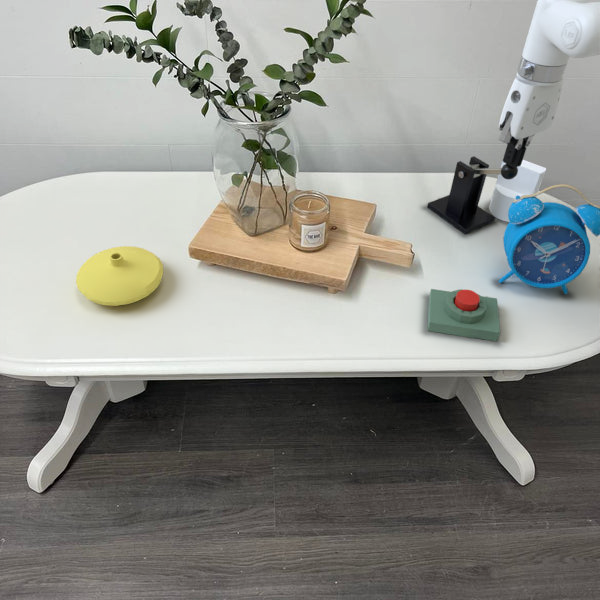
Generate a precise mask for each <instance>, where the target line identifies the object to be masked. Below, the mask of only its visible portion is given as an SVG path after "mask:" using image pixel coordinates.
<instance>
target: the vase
mask: <svg viewBox="0 0 600 600" xmlns="http://www.w3.org/2000/svg"><path fill="white" fill-rule="evenodd" d="M163 264H164V263H162V261H161V259H160V257H158V256H157V255H156V254H155V253H153V252H151V251H149V250H147V249H146V248H143V247H142V248H141V247H138V246H130V245H123V246H115V247H111V248H107V249H103V250H101V251H99V252H97V253H95V254H93V255H92V256H90V257H89V258H87V260H86V261H85V262H84V263H83V264H82V265H81V266H80V268H79V269H78V272H77V273H76V276H75V277H76V279H75V284H76V287H77V289H78V290H79V292H80V293H81V294H82V295H83V296H84V297H85V298H86V299H87V300H88V301H91V302H93V303H95V304H98V305H102V306H112V307H113V306H117V307H118V306H123V305H129V304H133V303H135V302H138V301H140V300H142V299H144V298H146V297H148V296H150V295H151V294H152V293H154V291H156V289H157V288H158V287H159V286H160V284H161V281H162V278H163V275H164V265H163Z"/></svg>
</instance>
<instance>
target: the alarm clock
mask: <svg viewBox="0 0 600 600" xmlns="http://www.w3.org/2000/svg"><path fill="white" fill-rule="evenodd" d="M557 188H558V189H559V188H566V189H570V190H572V191H573V192H576V193H577V194H578V195H579V196H580V197H581V198H582V199H583V200H584V201H585V204H580V205H578V206H576V207H575V208H574V209H572V208H571V207H569V206H567V205H565V204H562V203H559V202H558V203H557V202H551V201H546V202H543V201H542V200H541V199H540V198H538V197H537V196H539V195H542V194H544V193H545V192H547V191H550V190H553V189H557ZM534 196H536V197H534ZM513 201H514V202H513V203H512V204H511V206H510V207H509V211H508V218H509V221H510V222H507V223H508V224H507V225H506V227H505V229H504V232H503V233H504V234H503V237H502V239H503V249H504V253H505V256H506V259H507V263H508V267H509V268H510V270H509V271H508V272H507V273H506V274H505V275H503V276H502V277H501V278H500V279H499V280H498V283H499V284H501V283H503V282H505V281H507V280H508V279H509V278H511V277H512V276H513V275H515V276H516V277H517V279H518V280H520V281H521V282H523V283H524V284H526V285H529V286H531V287H534V288H538V289H554V288H558V287H561V290H562V292H563V294H564V295H567V294H568V287H567V284H568V283H570V282H572V281H574V280H576V278H577V277H578V276H580V275H581V274H582V273H583V271H584V270H585V268H586V266H587V264H588V262H589V260H590V259H589V258H590V255H591V243H590V239H589V237H588V233H587V229H588V230H589V231H590V232H591V233H592V235H594V237H596V238H598V237H599V236H600V205H597V204H595V203H593V202H592V201H590V200H589V199H588V198H587V197H586V196H585V195H584V194H583V193H582V192H581V190H579V189H578V188H576V187H574V186H572V185H570V184H566V183H565V184H563V183H561V184H554V185H552V186H548V187H546V188H543V189H542V190H539V191H538V192H537V193H535V194H530V195H523V196H521V197H520V196H518V195H517V196H516V199H515V200H513ZM586 203H587V204H586ZM586 228H587V229H586Z"/></svg>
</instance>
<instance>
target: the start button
mask: <svg viewBox="0 0 600 600" xmlns="http://www.w3.org/2000/svg"><path fill="white" fill-rule="evenodd" d="M459 290H460V289H459ZM478 294H479V293H477V292H476V291H473V290H471V289H462V290H460V291H459V292H458V293H457V295H456V298H455V305H456V307H457V308H459V309H461V310H463V311H468V312H472V311H475V310H476V309H477V307H478V304H479V301H480V298H479V296H478Z"/></svg>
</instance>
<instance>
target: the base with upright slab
mask: <svg viewBox="0 0 600 600" xmlns="http://www.w3.org/2000/svg"><path fill="white" fill-rule="evenodd" d="M505 164H506V163H504V162H503V160H502V161H501V165H500V168H502V167H503V165H505ZM517 168H518V173H517V175H516V177H514V178H513V179H509V180H508V179H505V178H503V177H502V175H501V174H497V178H496V182H495V185H494V189H493V192H492V195H491V199H490V202H489V205H488V210H489V213H490V214H491V215H492V216H494V217H495V219H498V220H500V221H503V222H507V223H509V222H510V221H509V218H508V211H509V207H510V206H511V204H512V203H513V202H514V201H513V200H515V199H516V196H517V195H518V196H520V197H521V196H523V195H530V194H535V193H537V192H540V189H541V185H542V182H543V180H544V176H545V174H546V171H547V167H544V166H541V165H538V164H536V163H533V162H531V161H527V160H525V159H523V160H522V164H521V166H517ZM534 197H536V198H537V196H534Z"/></svg>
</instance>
